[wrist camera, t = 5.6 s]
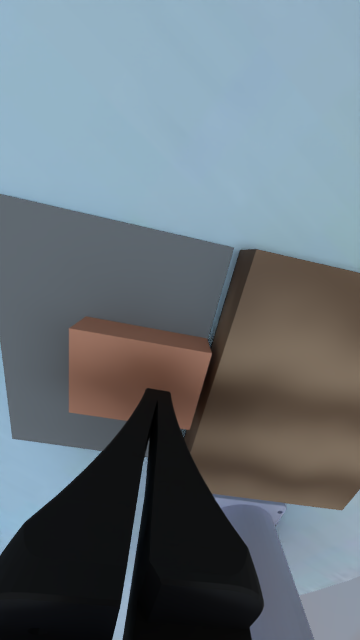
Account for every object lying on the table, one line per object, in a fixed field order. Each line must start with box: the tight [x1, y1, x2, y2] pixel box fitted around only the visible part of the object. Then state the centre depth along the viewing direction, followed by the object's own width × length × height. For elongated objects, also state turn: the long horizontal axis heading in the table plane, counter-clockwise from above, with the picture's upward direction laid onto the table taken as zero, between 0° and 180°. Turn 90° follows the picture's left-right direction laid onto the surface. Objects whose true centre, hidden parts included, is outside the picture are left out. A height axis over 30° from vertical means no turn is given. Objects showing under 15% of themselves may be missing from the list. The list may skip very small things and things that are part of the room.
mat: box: [0, 194, 234, 457], centre depth 13 cm, size 18×14×1 cm
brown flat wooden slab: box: [184, 249, 360, 510], centre depth 14 cm, size 18×14×2 cm
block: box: [69, 316, 212, 430], centre depth 12 cm, size 6×8×2 cm
